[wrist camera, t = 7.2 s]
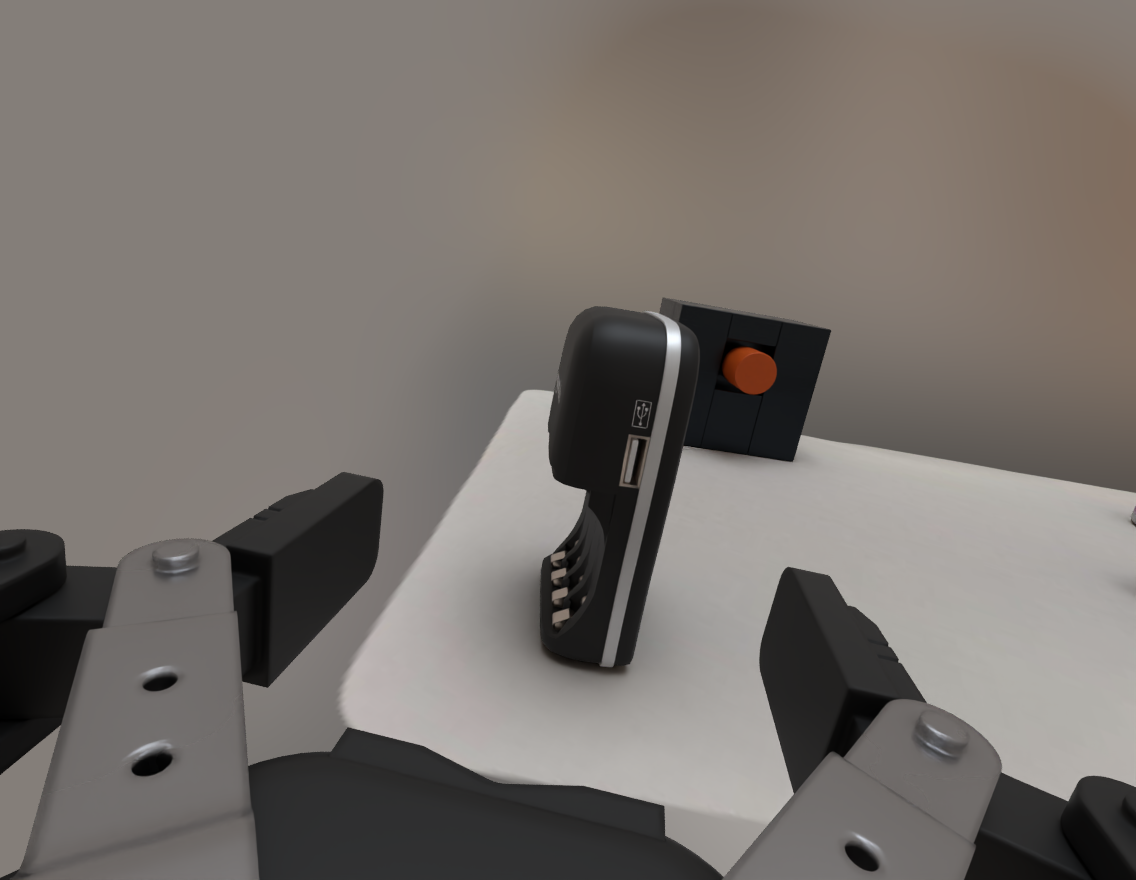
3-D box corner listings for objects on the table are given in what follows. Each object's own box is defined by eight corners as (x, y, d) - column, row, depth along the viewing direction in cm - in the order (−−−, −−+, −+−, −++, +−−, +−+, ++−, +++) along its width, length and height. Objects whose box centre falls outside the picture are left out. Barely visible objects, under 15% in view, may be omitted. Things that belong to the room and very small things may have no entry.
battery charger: (523, 561, 26) (567, 293, 23) (609, 573, 26) (664, 310, 23) (516, 667, 19) (576, 308, 16) (632, 680, 20) (714, 332, 16)
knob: (771, 397, 46) (782, 356, 45) (730, 391, 45) (740, 349, 44) (755, 388, 49) (765, 349, 48) (717, 382, 49) (727, 342, 48)
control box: (793, 461, 50) (831, 329, 47) (652, 440, 49) (682, 304, 46) (760, 434, 58) (791, 319, 54) (637, 415, 57) (662, 297, 53)
